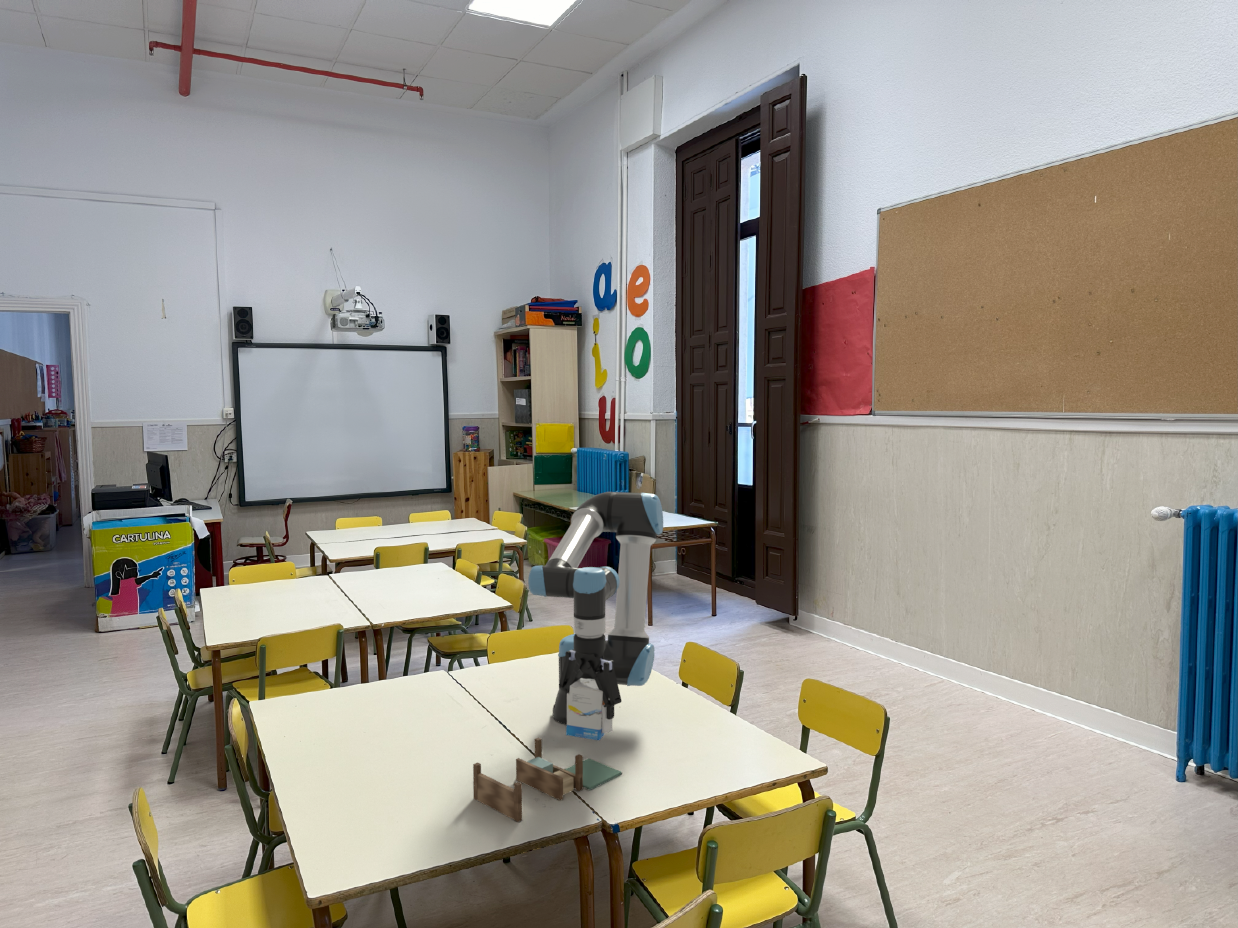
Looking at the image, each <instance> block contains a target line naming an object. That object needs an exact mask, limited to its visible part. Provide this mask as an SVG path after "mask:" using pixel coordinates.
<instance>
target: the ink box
mask: <svg viewBox="0 0 1238 928" xmlns="http://www.w3.org/2000/svg"><path fill="white" fill-rule="evenodd" d="M609 700H610V699H609ZM602 705H605V703H604V701H603V691H601V690H599V689H598V686H597V684H596V681H595V680H594V679H584V678H580V680H577V681H576V682H575V683H573V684H572V685H570V691H569V703H568V715H567V725H566V726H565V727H566V729H565V735H566V736H570V737H576V738H582V739H586V740H587V739H588V740H594V741H600V740H601V739H603V737H604V736H605V735H606V733H605V734H604V733H602Z"/></svg>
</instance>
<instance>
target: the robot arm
mask: <svg viewBox="0 0 1238 928" xmlns="http://www.w3.org/2000/svg"><path fill="white" fill-rule="evenodd" d="M663 531H664V513H663V506H662V503H661V500H660V498H659V496H658V495H657V494H654V493H646V492H643V491H642V492H622V491H621V492H620V491H619V492H617V491H616V492H615V491H606V492H602V493H598V494H596V495H594V496H591V497H590V498H589V499H587V500H585V501H584V502H583V503H582V504H580V505H579V506H578V507H577V508H576V510H575V511H574V512H573V514H572V516H571V519H570V525H569V527H568V529H567V530H566V532H565V534H564V535H563V537H562V538H561V539H560V541H559V543H558V545H557V546H556V548H555V550H554V551H553V552H552V555H551V556H550V558H549V559H548V560H547V562H546V564H545V565H543V564H542V565H534V566H532V567H531V569H530V570H529V574H528V581H527V582H528V589H529V592H530V594H531V595H534V596H539V597H544V598H547V597H549V598H550V597H551V598H566V599H567V598H569V599H573V634H569V635H567V636H565V637H563V638H562V639H561V640H560V642H559V645H558V654H557V657H558V691H557V694H556V698H555V702H554V704H553V707H552V719H554V721H556V722H558V723H559V724H562V725H566V726H567V715H568V703H569V691H570V685H572V684H573V683H575V682H576V681H577V680H580V678H584V679H594V680H595V681H596V684H597V686H598V689H599V690H601V691H603V701H604V703H605V705H602V733H604V734H605V735H606V734H607V733H610V732H612V731H613V719H614V718H615V706H616V705H618V704H620V703H622V697H621V693H620V689H619V685H622V686H627V687H630V686H631V687H632V686H635V687H636V686H637V687H641V686H644V685H645V684H646V683H647V682H648V681H649V679H650V676H651V673H652V670H653V667H654V661H655V651H656V650H655V645H654V644H653V643H650V636H649V635H648V634H647V632H646V631H645V627H646V611H647V597H648V583H649V571H650V570H649V569H650V559H651V558H650V556H651V546H652V545H653V544H655V542H656V541H657V535H658V536H659V535H661V534H663ZM603 532H605V533H606V532H607V533H609V532H610V533H616V535H615V538H616V540H617V541H618V543H619V544H620V549H619V563H618V573H617V571H616V570H615V569H613V567H610V566H600V567H599V566H598V567H595V566H594V567H593V566H589V567H588V566H587V567H582V568H581V567H579V565H580V564H581V563H582V560H583V558H584V557H585V554H586V553H587V551H588V550H589V548H590V547H591V544H592V543H593V541H594V539H595V538H597V537H599V536H600V535H601V534H602V533H603ZM615 594H616V599H615V612H614V623H613V629H612V630H611V631H610V632H608V633H607V640H606V635H605V633H606V602H607V600H609V599H610V598H612V597H614V595H615ZM609 699H610V700H609Z"/></svg>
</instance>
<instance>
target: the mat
mask: <svg viewBox="0 0 1238 928" xmlns="http://www.w3.org/2000/svg"><path fill="white" fill-rule="evenodd" d="M564 769H565V770H567V771H569V772H571V773H574V774H575V764H573V765H571V766H569V767H567V768H564ZM622 774H623V771H621V770H619V769H616V768H614V767H611V766H608V765H606V764H604V763H602V762H599V761H596V760H594V759H591V758H586V759H583V789H586V790H588V791H591V790H593V789H595V788H597V787H599V786H601V785H603V784H605V783H608V782H610V781H611V780H613V779H615V778H617V777H619V776H621V775H622Z"/></svg>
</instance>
